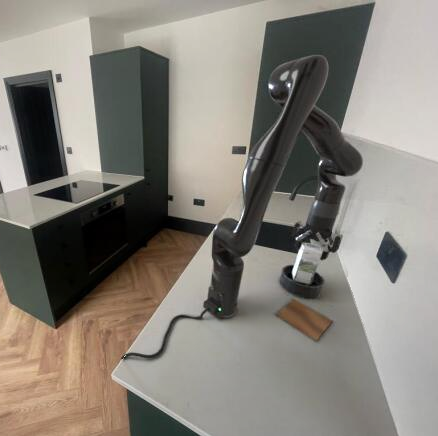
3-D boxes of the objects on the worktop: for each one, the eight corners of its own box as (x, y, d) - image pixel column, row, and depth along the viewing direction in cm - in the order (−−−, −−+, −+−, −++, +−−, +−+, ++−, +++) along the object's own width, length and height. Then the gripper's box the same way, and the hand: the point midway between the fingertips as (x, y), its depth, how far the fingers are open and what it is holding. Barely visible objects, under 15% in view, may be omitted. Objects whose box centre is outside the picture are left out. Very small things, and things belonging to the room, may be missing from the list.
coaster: (316, 341, 68) (316, 340, 68) (276, 315, 77) (276, 314, 77) (332, 321, 75) (332, 320, 74) (293, 299, 84) (293, 299, 83)
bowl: (310, 305, 81) (314, 293, 79) (272, 284, 91) (275, 273, 89) (326, 289, 88) (330, 277, 86) (289, 271, 98) (292, 260, 96)
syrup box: (308, 276, 89) (319, 244, 83) (310, 285, 84) (322, 252, 79) (291, 272, 92) (301, 240, 86) (292, 281, 87) (303, 248, 81)
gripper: (295, 208, 80) (284, 249, 87) (345, 223, 69) (328, 267, 76) (304, 204, 84) (293, 243, 91) (353, 217, 73) (336, 259, 80)
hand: (309, 254), depth 83 cm, fingers closed on syrup box, 7 cm apart
